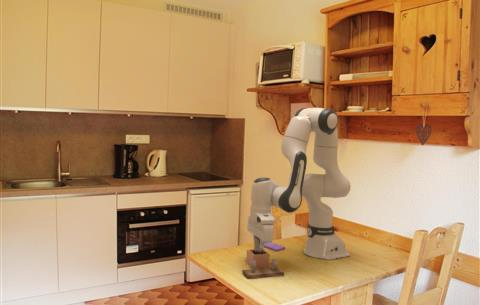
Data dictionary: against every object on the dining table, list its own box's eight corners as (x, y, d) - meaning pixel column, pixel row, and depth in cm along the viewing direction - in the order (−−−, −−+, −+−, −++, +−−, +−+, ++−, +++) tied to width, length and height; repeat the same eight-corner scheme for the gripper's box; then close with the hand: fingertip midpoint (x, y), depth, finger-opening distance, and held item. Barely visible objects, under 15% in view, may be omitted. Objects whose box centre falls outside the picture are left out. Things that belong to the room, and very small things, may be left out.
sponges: (267, 244, 209) (267, 240, 209) (285, 250, 200) (286, 246, 200) (257, 246, 205) (258, 242, 204) (276, 252, 195) (276, 249, 195)
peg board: (277, 270, 170) (278, 256, 170) (283, 275, 164) (284, 261, 164) (242, 273, 164) (243, 259, 164) (247, 279, 159) (248, 264, 158)
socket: (261, 261, 180) (262, 248, 179) (269, 267, 173) (269, 254, 172) (246, 263, 177) (246, 249, 177) (252, 269, 170) (253, 255, 170)
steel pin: (260, 258, 177) (261, 236, 177) (264, 261, 174) (265, 238, 173) (252, 259, 176) (253, 236, 175) (255, 262, 172) (256, 239, 172)
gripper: (244, 210, 182) (243, 240, 183) (263, 221, 163) (261, 254, 164) (257, 209, 184) (256, 239, 185) (277, 220, 165) (275, 253, 166)
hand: (258, 246), depth 174 cm, fingers closed on steel pin, 4 cm apart
